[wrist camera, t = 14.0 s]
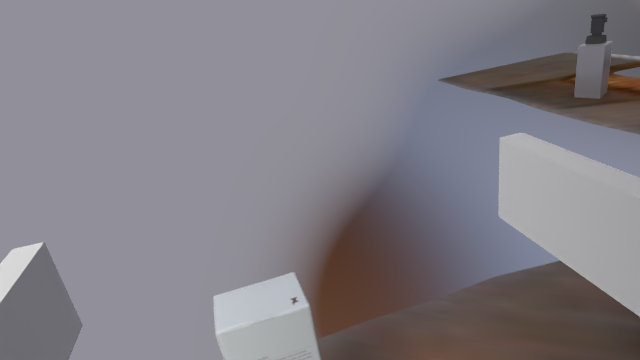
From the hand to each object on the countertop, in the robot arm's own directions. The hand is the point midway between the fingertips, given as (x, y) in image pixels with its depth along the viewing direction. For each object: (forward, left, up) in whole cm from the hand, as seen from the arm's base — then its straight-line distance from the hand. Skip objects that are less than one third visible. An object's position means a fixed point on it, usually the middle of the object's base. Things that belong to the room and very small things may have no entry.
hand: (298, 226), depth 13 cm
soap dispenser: (-101, -95, -32) cm, 142 cm away
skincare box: (+2, -13, -24) cm, 27 cm away
